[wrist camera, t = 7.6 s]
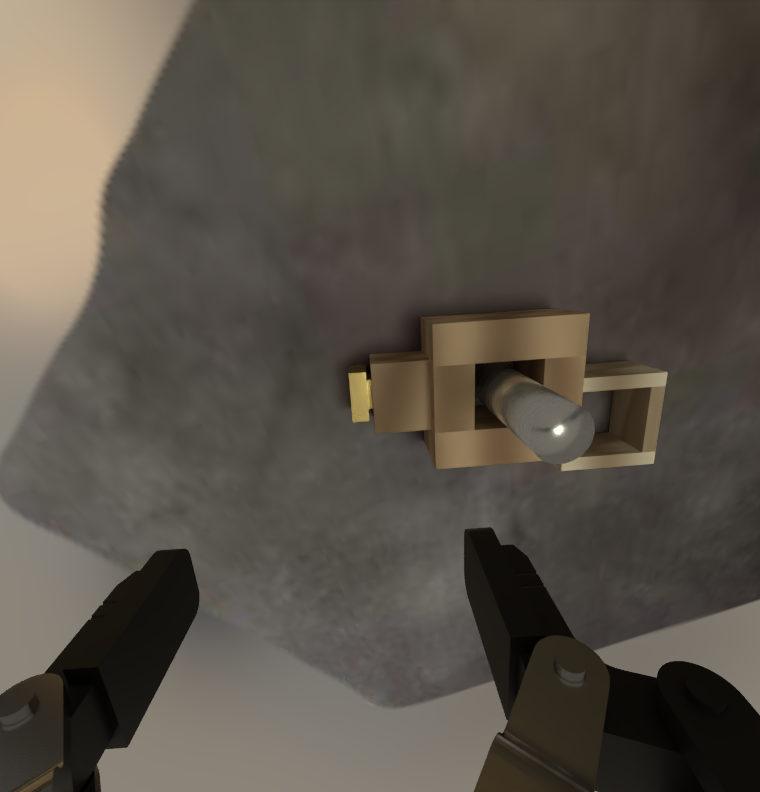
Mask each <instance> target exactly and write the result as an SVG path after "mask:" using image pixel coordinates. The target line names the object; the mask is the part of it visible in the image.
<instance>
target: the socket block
mask: <svg viewBox="0 0 760 792" xmlns="http://www.w3.org/2000/svg"><path fill="white" fill-rule="evenodd" d="M589 319H590V313H583V312H575V311H568V310H560V309H553V308H550V309H536V310H521V311H506V312H492V313H477V314H462V315H448V316H433V317H420V322H421V351H408V352H393V353H379V354H369V357H370V370H371V379H372V394H373V408H374V409H373V414H374V424H375V434H380V433H393V432H406V431H419V430H424V441H425V444H426V446H427V449H428V451H429V454H430V456H431V459H432V461H433V464H434V466H435V469H446V468H458V467H471V466H483V465H496V464H508V463H521V462H533V461H543V460H541V459H540V458H539V457H538V456H537V455H536V454H535V453H533V452H532V451H531V450H530V449H529V448H528V447H527V446H526V445H525V444H524V443H523V442H522V441H521V440H520V439H519V438H518V437H517V436H516V435H515V434H514V433H513V432H512V431H511V430H510V429H509V428H508V427H507V426H506V425H505V424H503V423H502V422H501V421H500V420H499V419H498V418H497V417H496V416H495V415H494V414H493V413H492V412H491V411H490V410H489V409H488V408H487V407H486V406H485V405H481V406H475V364H478V363H492V362H506V361H515V370H516V371H518V372H520V373H521V374H523V375H525V376H527V377H529V378H531V379H532V380H534V381H536V382H538V383H540V384H541V385H543V386H545V387H547V388H549V389H551V390H552V391H554V392H556V393H558V394H560V395H561V396H563V397H565V398H567V399H569V400H570V401H572V402H574V403H576V404H578V405H580V406H582V395H583V384H584V373H585V362H586V352H587V341H588V330H589Z"/></svg>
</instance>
